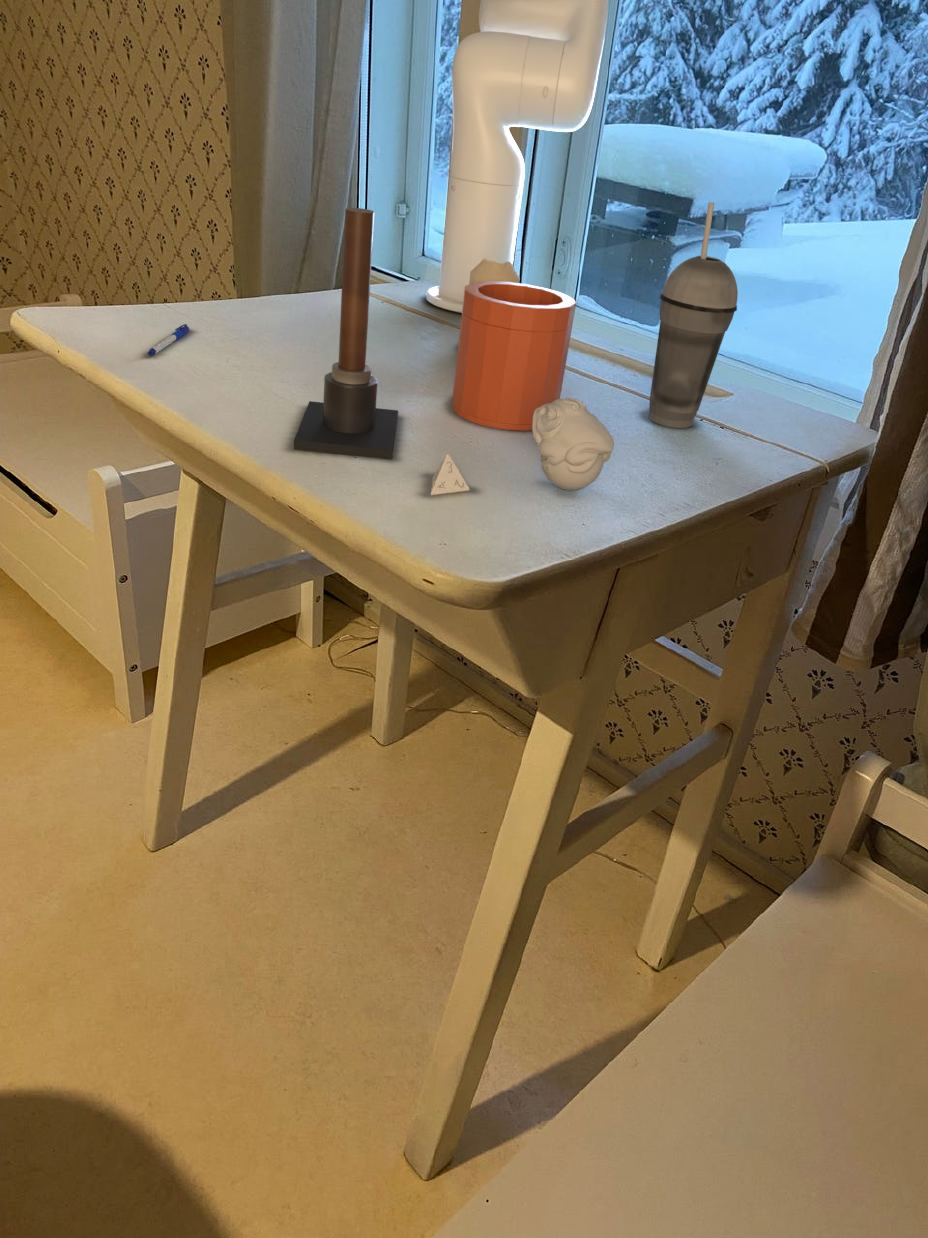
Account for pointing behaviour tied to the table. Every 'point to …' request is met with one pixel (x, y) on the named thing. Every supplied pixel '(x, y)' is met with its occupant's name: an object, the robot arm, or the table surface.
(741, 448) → the table surface
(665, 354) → the beverage cup
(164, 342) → the blue and white marker
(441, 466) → the tetrahedral die
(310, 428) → the mat
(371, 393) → the brush
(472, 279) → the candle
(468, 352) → the jar
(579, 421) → the frog figurine
